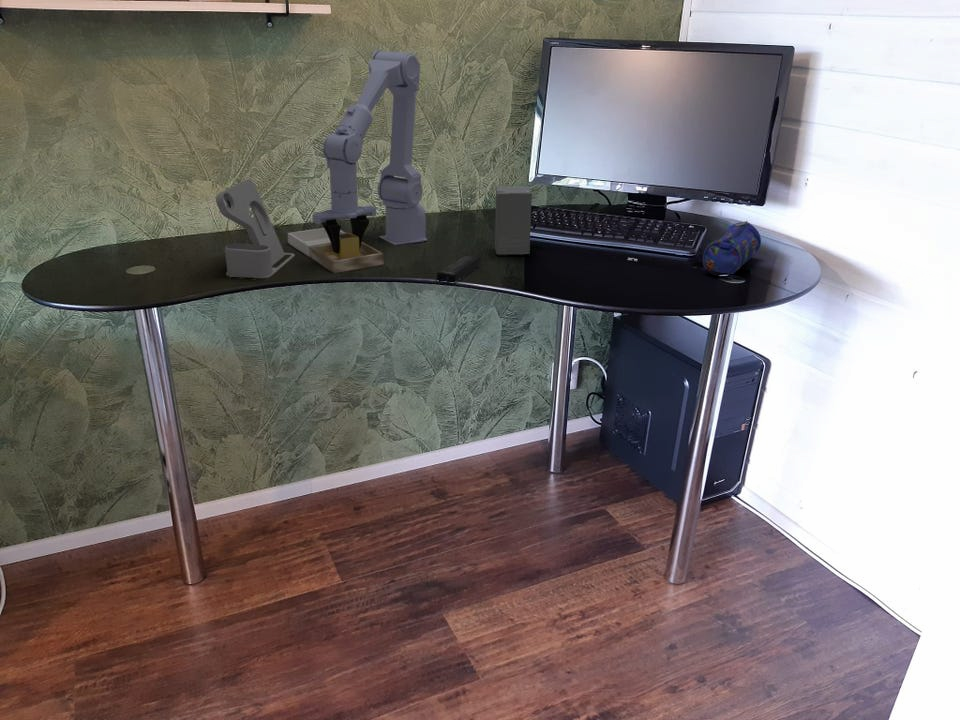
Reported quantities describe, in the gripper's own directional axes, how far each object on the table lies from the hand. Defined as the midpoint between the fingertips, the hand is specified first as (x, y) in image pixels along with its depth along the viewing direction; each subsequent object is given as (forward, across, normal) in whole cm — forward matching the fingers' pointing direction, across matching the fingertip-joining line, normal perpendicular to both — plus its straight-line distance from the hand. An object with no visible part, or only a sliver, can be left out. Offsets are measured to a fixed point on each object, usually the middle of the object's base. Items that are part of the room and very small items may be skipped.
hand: (346, 250), depth 174 cm
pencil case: (+3, +77, -46) cm, 90 cm away
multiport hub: (+4, +18, -18) cm, 26 cm away
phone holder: (+3, -18, +7) cm, 19 cm away
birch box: (+3, 0, 0) cm, 3 cm away
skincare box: (+3, +38, -12) cm, 40 cm away
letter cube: (+1, 0, 0) cm, 1 cm away
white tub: (+3, 0, +13) cm, 13 cm away
